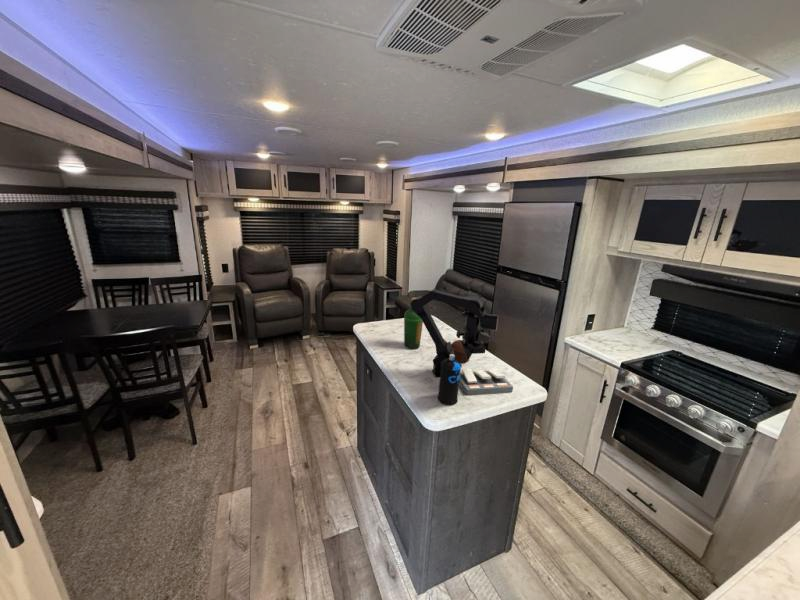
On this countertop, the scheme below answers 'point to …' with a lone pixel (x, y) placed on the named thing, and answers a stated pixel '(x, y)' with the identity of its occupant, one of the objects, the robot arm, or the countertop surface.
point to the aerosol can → (449, 381)
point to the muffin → (459, 352)
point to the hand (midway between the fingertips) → (467, 358)
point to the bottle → (412, 329)
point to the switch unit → (485, 385)
